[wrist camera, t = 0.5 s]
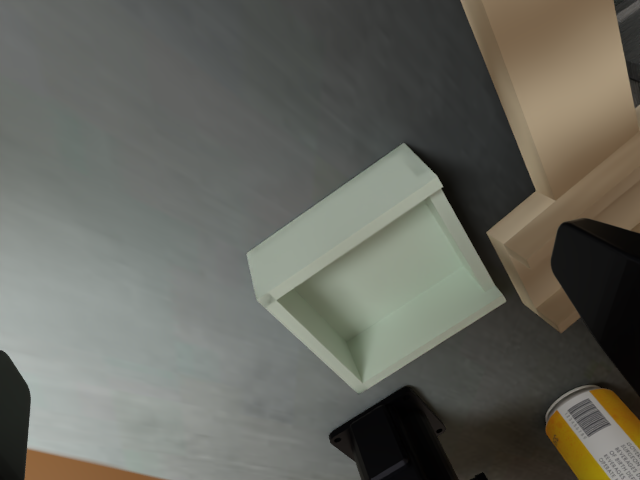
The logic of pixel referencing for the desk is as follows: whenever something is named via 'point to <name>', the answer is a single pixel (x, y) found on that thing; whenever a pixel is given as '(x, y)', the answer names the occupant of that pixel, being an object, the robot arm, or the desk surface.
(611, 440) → the beer can
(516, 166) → the desk surface
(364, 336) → the tray
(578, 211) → the lever
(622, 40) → the silver support block
